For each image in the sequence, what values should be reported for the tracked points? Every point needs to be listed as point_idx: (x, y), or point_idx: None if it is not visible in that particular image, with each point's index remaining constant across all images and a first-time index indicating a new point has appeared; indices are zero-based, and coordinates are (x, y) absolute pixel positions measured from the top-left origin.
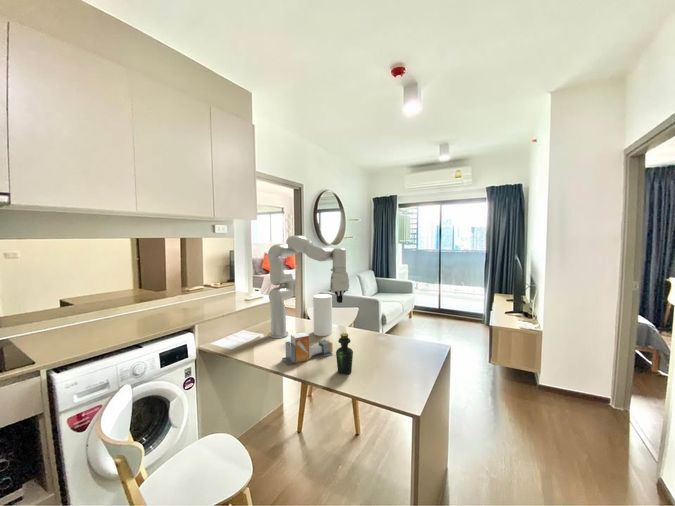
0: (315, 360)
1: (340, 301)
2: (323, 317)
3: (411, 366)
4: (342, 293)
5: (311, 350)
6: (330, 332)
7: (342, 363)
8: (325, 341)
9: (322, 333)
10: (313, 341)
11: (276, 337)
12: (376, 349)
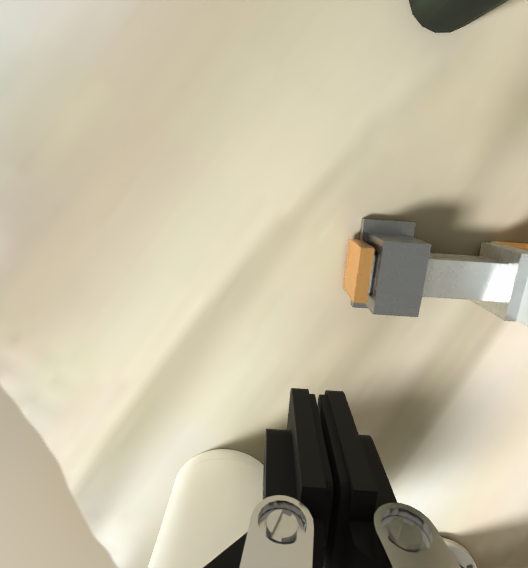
0: (474, 212)
1: (332, 402)
2: None
3: None
4: (285, 551)
5: (491, 261)
6: (202, 459)
7: None
8: (391, 281)
9: (251, 466)
10: None
11: (461, 547)
12: (107, 129)
